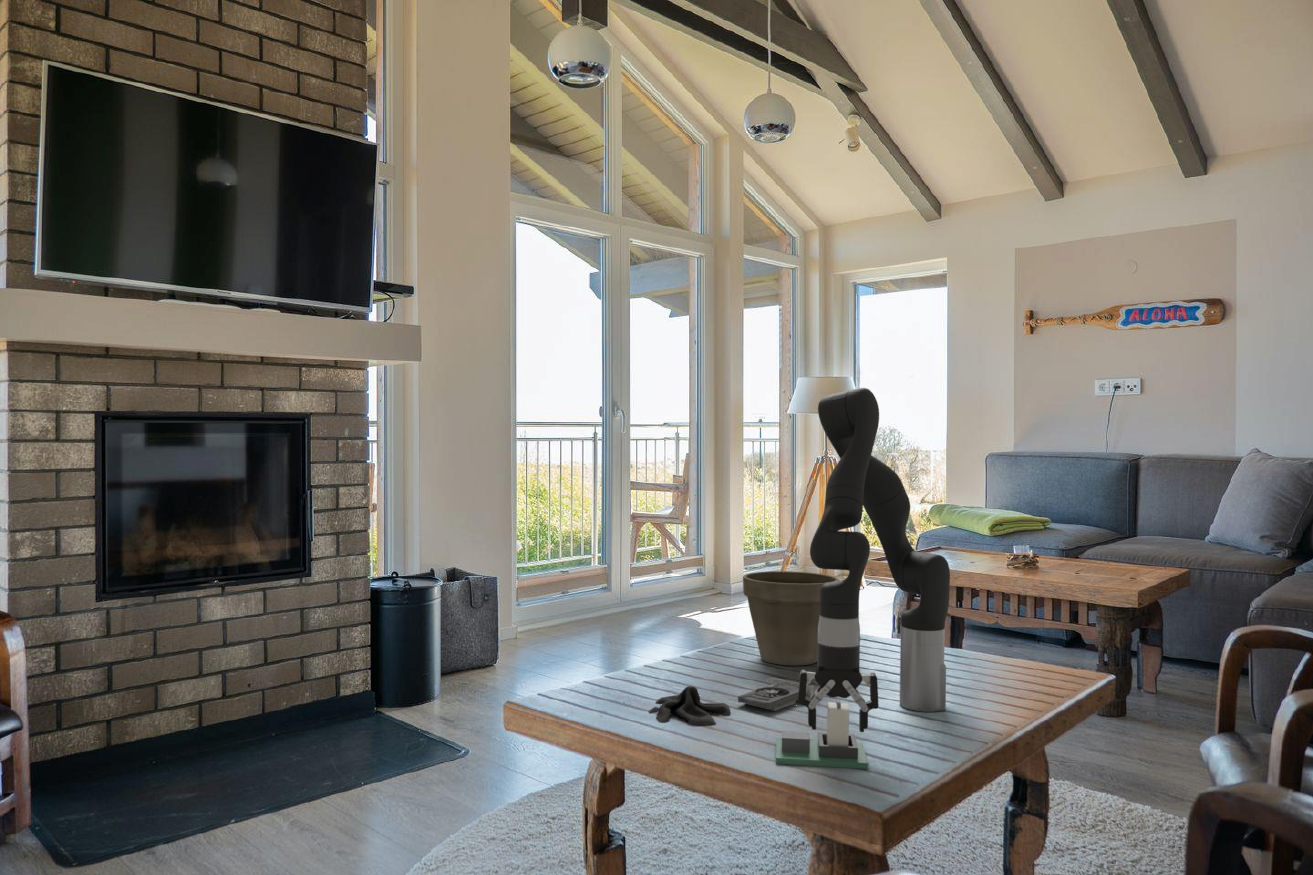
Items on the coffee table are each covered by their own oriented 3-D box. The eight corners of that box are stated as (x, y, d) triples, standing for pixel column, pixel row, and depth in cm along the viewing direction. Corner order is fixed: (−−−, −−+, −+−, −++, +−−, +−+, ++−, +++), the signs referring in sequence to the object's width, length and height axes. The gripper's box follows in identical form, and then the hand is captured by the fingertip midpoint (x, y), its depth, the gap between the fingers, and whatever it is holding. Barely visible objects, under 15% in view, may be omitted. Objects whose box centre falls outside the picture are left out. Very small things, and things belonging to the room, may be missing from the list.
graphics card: (770, 675, 219) (814, 684, 211) (770, 692, 219) (815, 701, 211) (725, 690, 206) (771, 700, 198) (725, 708, 206) (771, 718, 198)
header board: (862, 748, 178) (862, 729, 178) (867, 768, 167) (868, 748, 167) (776, 743, 180) (776, 725, 180) (775, 763, 169) (776, 743, 169)
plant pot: (784, 644, 265) (785, 566, 265) (857, 660, 247) (858, 577, 247) (722, 658, 248) (723, 574, 248) (796, 676, 230) (797, 587, 230)
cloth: (668, 697, 213) (668, 669, 213) (745, 708, 204) (746, 680, 204) (619, 723, 193) (619, 693, 193) (702, 737, 185) (703, 706, 185)
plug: (846, 746, 175) (847, 699, 175) (847, 754, 171) (849, 705, 171) (826, 745, 176) (827, 697, 175) (827, 753, 171) (829, 704, 171)
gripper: (876, 637, 176) (875, 725, 176) (798, 634, 178) (797, 721, 178) (880, 646, 168) (879, 738, 168) (799, 643, 170) (798, 734, 170)
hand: (837, 729), depth 173 cm, fingers open, 8 cm apart
